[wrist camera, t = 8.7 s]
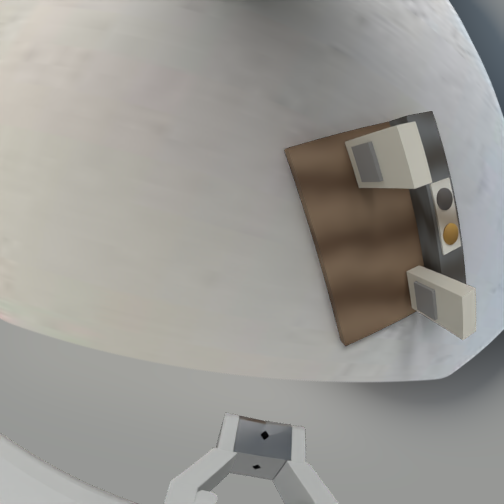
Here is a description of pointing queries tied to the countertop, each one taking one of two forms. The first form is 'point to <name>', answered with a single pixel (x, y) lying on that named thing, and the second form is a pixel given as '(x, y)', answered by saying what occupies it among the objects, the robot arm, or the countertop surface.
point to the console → (376, 228)
